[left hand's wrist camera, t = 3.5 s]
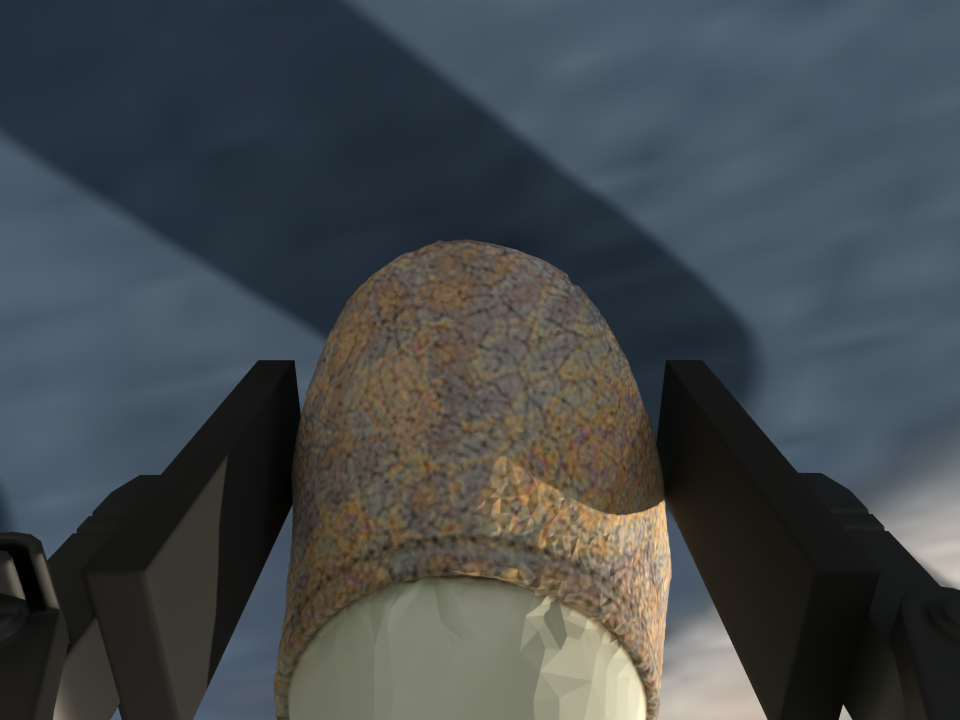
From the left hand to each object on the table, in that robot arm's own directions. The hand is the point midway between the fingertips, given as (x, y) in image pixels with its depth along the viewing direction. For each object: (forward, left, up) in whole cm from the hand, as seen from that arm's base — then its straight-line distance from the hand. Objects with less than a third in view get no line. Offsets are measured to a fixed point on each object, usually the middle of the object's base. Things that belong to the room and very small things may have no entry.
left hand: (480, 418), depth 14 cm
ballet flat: (+2, +8, -1) cm, 8 cm away
